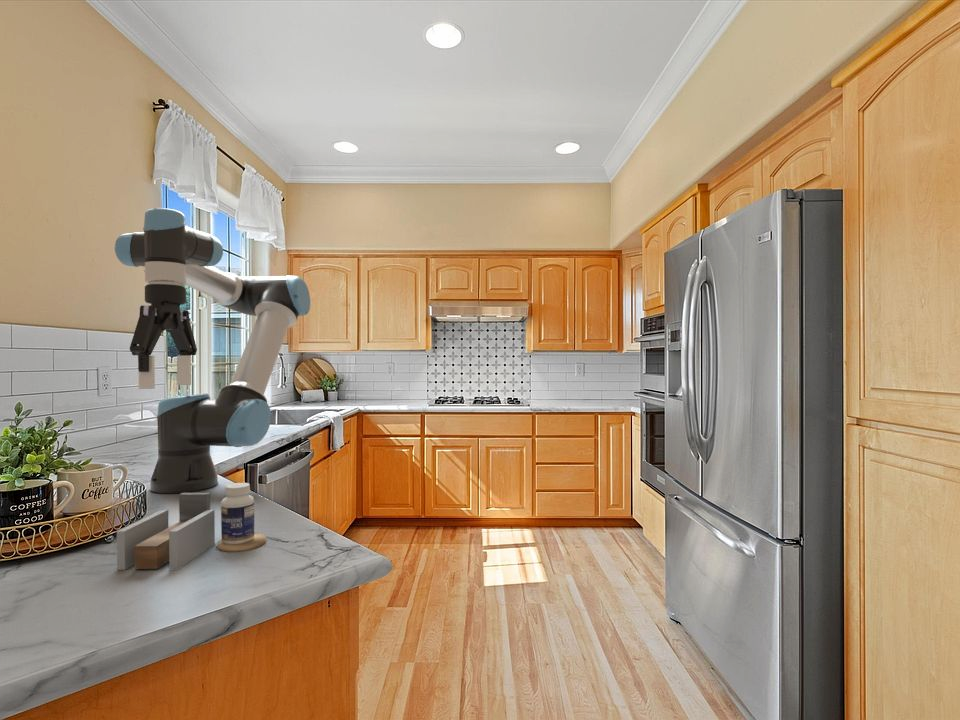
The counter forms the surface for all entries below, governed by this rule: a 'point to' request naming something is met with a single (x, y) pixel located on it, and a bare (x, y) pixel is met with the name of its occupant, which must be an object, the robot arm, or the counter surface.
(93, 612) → the counter surface
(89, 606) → the counter surface
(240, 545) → the coaster
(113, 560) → the counter surface
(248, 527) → the pill bottle
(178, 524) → the sliding block
